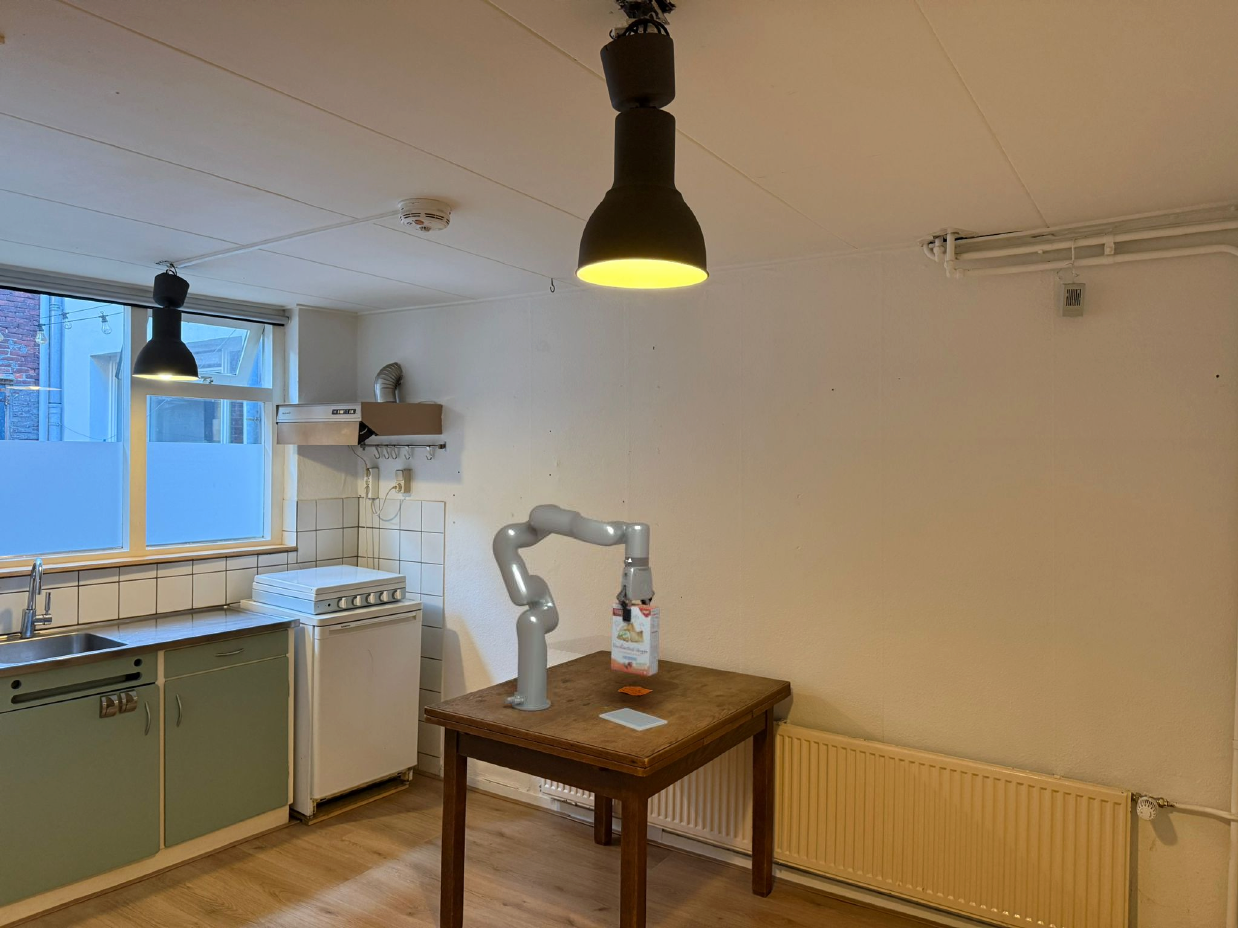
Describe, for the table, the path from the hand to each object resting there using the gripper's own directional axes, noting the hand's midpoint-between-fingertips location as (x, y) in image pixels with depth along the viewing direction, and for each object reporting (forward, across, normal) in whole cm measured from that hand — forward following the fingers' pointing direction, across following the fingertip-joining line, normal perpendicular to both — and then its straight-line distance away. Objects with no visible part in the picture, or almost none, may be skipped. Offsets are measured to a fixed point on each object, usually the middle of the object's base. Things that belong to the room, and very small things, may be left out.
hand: (635, 619), depth 257 cm
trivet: (+31, 0, 0) cm, 31 cm away
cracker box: (+16, 0, 0) cm, 16 cm away
